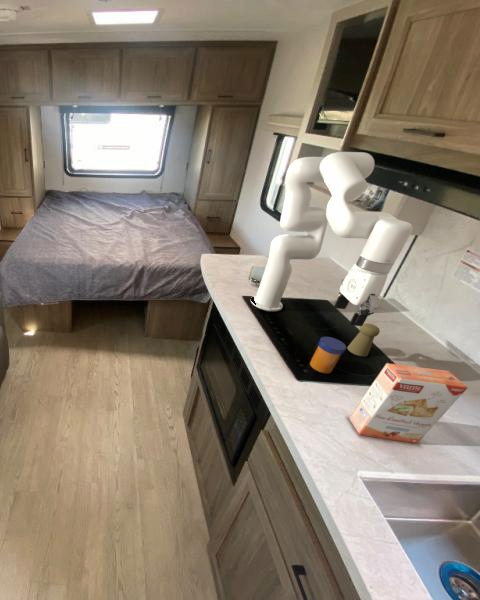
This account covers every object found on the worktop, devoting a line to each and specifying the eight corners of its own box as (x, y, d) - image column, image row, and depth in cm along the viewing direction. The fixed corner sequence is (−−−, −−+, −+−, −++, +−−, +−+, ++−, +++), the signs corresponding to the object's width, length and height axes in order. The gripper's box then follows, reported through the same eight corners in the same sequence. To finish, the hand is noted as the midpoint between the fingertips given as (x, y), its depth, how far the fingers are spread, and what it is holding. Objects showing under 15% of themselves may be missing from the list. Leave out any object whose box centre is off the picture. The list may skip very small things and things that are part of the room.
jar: (306, 359, 113) (317, 337, 108) (326, 361, 112) (338, 339, 107) (314, 371, 108) (326, 349, 103) (335, 374, 107) (348, 352, 102)
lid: (314, 339, 109) (316, 335, 108) (337, 342, 108) (339, 338, 107) (323, 353, 103) (326, 348, 102) (348, 356, 102) (350, 351, 101)
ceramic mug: (248, 276, 169) (252, 262, 165) (266, 280, 165) (270, 266, 161) (245, 284, 161) (250, 270, 157) (264, 288, 157) (269, 274, 153)
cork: (359, 357, 114) (374, 332, 109) (343, 347, 119) (356, 322, 114) (372, 354, 116) (387, 329, 110) (355, 344, 121) (369, 319, 115)
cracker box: (359, 436, 86) (400, 378, 76) (347, 418, 92) (384, 361, 81) (419, 446, 84) (470, 387, 74) (404, 426, 90) (449, 369, 79)
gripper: (343, 251, 99) (320, 300, 107) (377, 276, 84) (348, 331, 93) (371, 254, 98) (346, 303, 106) (410, 279, 83) (377, 334, 92)
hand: (347, 316), depth 100 cm, fingers open, 9 cm apart
